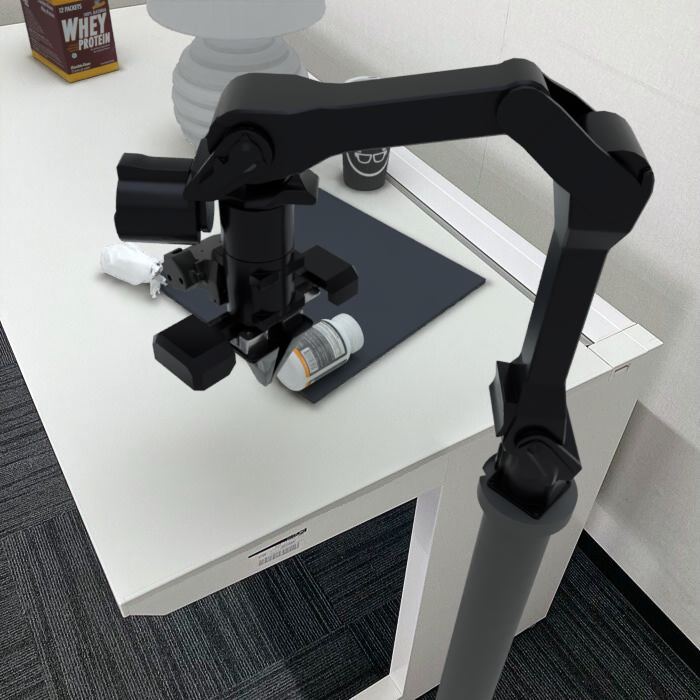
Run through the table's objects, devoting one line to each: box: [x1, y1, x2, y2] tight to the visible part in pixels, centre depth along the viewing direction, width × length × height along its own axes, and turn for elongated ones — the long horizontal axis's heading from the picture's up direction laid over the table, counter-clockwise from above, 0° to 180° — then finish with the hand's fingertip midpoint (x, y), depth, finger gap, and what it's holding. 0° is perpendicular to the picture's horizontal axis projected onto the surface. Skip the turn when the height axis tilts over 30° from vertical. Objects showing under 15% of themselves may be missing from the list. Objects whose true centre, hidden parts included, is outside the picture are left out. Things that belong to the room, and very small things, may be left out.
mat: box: [159, 187, 487, 404], centre depth 104 cm, size 32×32×1 cm
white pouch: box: [99, 242, 167, 299], centre depth 100 cm, size 5×7×10 cm
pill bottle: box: [276, 314, 364, 392], centre depth 89 cm, size 6×6×10 cm
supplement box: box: [19, 0, 120, 83], centre depth 146 cm, size 10×15×16 cm
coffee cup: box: [341, 75, 391, 192], centre depth 119 cm, size 10×10×15 cm
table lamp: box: [145, 0, 327, 150], centre depth 115 cm, size 25×25×40 cm
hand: (264, 382), depth 73 cm, fingers closed
